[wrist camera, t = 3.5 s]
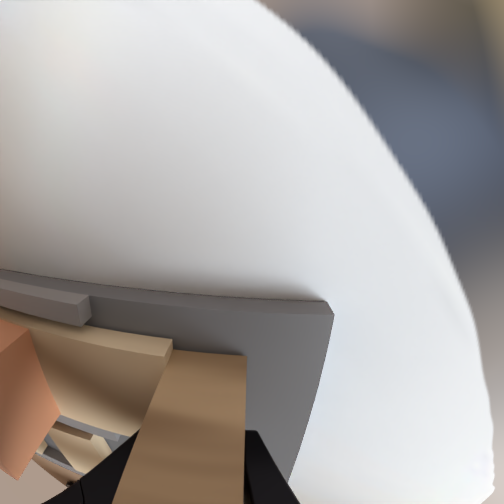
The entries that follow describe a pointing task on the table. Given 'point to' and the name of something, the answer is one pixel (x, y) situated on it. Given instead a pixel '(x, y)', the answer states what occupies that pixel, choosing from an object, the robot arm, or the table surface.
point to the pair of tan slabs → (77, 446)
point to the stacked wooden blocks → (151, 407)
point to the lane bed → (200, 345)
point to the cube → (22, 400)
